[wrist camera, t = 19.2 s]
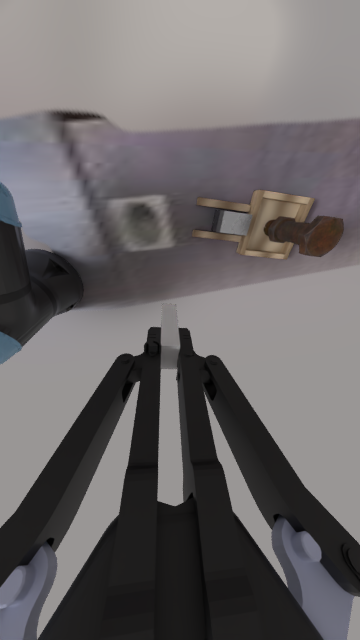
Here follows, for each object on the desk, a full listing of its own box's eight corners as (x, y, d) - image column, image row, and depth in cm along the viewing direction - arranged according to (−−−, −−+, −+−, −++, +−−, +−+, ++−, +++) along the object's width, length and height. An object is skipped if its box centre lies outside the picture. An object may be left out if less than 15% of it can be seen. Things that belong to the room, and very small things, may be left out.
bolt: (274, 206, 33) (337, 205, 21) (287, 223, 35) (352, 231, 23) (252, 232, 36) (297, 244, 24) (265, 246, 38) (313, 265, 25)
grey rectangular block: (211, 230, 35) (215, 232, 32) (215, 209, 33) (220, 209, 30) (239, 233, 36) (246, 235, 33) (245, 213, 34) (253, 214, 31)
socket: (190, 247, 37) (192, 249, 35) (199, 182, 31) (202, 180, 29) (280, 256, 40) (286, 259, 38) (305, 199, 34) (314, 198, 31)
